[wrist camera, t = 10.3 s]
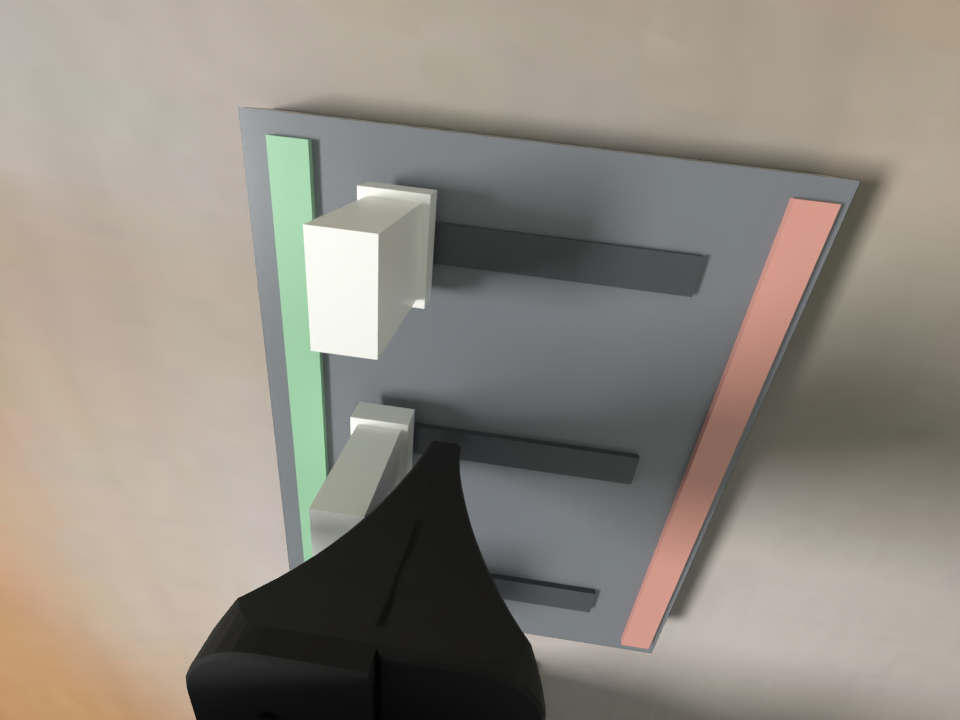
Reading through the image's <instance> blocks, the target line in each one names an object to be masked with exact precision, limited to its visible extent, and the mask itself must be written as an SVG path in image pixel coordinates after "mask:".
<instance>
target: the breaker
mask: <svg viewBox="0 0 960 720" xmlns="http://www.w3.org/2000/svg"><path fill="white" fill-rule="evenodd" d="M436 202H437V190H434V189H426V188H417V187H409V186H401V185H393V184H385V183H377V182H369V181H368V182H365V183H362V184H360V185H357V201H354V202H352V203H350V204H348V205H345V206H343V207H341V208H338V209H336V210H334V211H332V212H329V213H327V214H325V215H323V216H320V217H318V218H316V219H314V220H311V221H309V222H307V223H304V224H303V236H304V252H305V268H306V284H307V299H308V315H309V331H310V347H311V351H316V352H323V353H331V354H338V355H345V356H352V357H359V358H367V359H374V360H378V358H379V357H380V355H381V354H382V352H383V351H384V349H385V348H386V346H387V345H388V343H389V341H390V340H391V338H392V337H393V335H394V334H395V332H396V331H397V329H398V328H399V326H400V324H401V323H402V321H403V320H404V318H405V317H406V315H407V314H408V312H409V311H410V309H411V307H414V308H422V309H425V307H426V305H427V303H428V302H429V300H430V298H431V284H432V268H433V251H434V235H435V219H436Z"/></svg>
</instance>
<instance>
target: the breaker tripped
mask: <svg viewBox="0 0 960 720" xmlns="http://www.w3.org/2000/svg"><path fill="white" fill-rule="evenodd" d="M414 415H415V409H409V408H401V407H394V406H387V405H380V404H373V403H366V402H359V404H358V405H357V407H356V408H355V410H354V412H353V413H352V415H351V417H350V427H351V436H350V438H349V440H348V442H347V443H346V445H345V447H344V449H343V450H342V452H341V454H340V456H339V457H338V459H337V461H336V462H335V464H334V466H333V468H332V469H331V471H330V473H329V475H328V476H327V478H326V480H325V482H324V483H323V485H322V487H321V489H320V490H319V492H318V494H317V495H316V497H315V499H314V501H313V502H312V504H311V506H310V508H309V517H310V530H311V542H312V555H313V556H315V555H316V554H318V553H319V552H321V551H322V550H324V549H325V548H326V547H328V546H329V545H331V544H332V543H333V542H335V541H336V540H337V539H339V538H340V537H341V536H343V535H344V534H345V533H347V532H348V531H349V530H350V529H352V528H353V527H354V526H355V525H356V524H358V523H359V522H360V521H361V520H362V519H364V518H365V517H366V516H367V515H368V514H369V513H370V512H371V511H372V510H373V509H375V508H376V507H377V506H378V505H379V504H380V503H381V502H382V501H383V500H384V499H385V498H386V497H387V496H388V495H389V494H390V493H391V492H392V491H393V490H394V488H395V487H396V486H397V485H398V484H399V483H400V482H401V481H402V479H403V478H404V477H405V476H406V475H407V474H408V473H409V471H410V470H411V469H412V454H413V434H414Z"/></svg>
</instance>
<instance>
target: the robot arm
mask: <svg viewBox="0 0 960 720" xmlns="http://www.w3.org/2000/svg"><path fill="white" fill-rule="evenodd" d="M460 451H461V448H460V447H459V445H458V444H454V443H447V442H440V441H433V442H431V443H430V444H429V446H428V447H427V449H426V450H425V452H424V453H423V455H422V456H421V457H420V459H419V460H418V461H417V463H416V464H415V465H414V466H413V468H412V469H411V470H410V471H409V473H408V474H407V475H406V476H405V477H404V478H403V479H402V481H401V482H400V483H399V484H398V485H397V486H396V487H395V488H394V490H393V491H392V492H391V493H390V494H389V495H388V496H387V497H386V498H385V499H384V500H383V501H382V502H381V503H380V504H379V505H378V506H377V507H376V508H375V509H373V510H372V511H371V512H370V513H369V514H368V515H367V516H366V517H365V518H364V519H362V520H361V521H360V522H359V523H358V524H356V525H355V526H354V527H353V528H352V529H350V530H349V531H348V532H347V533H345V534H344V535H343V536H341V537H340V538H339V539H337V540H336V541H335V542H333V543H332V544H331V545H329V546H328V547H326V548H325V549H324V550H322V551H321V552H319V553H318V554H316V555H315V556H313V557H311V558H310V559H308V560H307V561H305V562H304V563H302V564H300V565H299V566H297V567H296V568H294V569H292V570H291V571H289V572H288V573H286V574H284V575H282V576H281V577H279V578H277V579H275V580H273V581H271V582H269V583H267V584H265V585H263V586H261V587H259V588H257V589H256V590H254V591H252V592H250V593H248V594H246V595H244V596H241V597H239V598H238V599H237V600H236V601H235V602H234V603H233V605H232V606H231V607H230V609H229V610H228V611H227V612H226V614H225V615H224V616H223V617H222V619H221V620H220V621H219V623H218V624H217V625H216V626H215V628H214V629H213V631H212V632H211V634H210V635H209V637H208V639H207V640H206V642H205V643H204V645H203V647H202V648H201V650H200V651H199V653H198V654H197V656H196V658H195V659H194V661H193V662H192V664H191V666H190V668H189V670H188V672H187V675H186V684H187V690H188V693H189V697H190V700H191V703H192V706H193V710H194V713H195V716H196V720H545V716H546V713H545V702H544V695H543V689H542V684H541V679H540V675H539V671H538V667H537V664H536V660H535V657H534V653H533V650H532V646H531V644H530V642H529V641H528V639H527V638H526V636H525V635H524V633H523V632H522V630H521V629H520V627H519V625H518V624H517V622H516V621H515V619H514V617H513V616H512V614H511V612H510V611H509V609H508V607H507V605H506V604H505V602H504V600H503V598H502V597H501V595H500V593H499V591H498V588H497V586H496V584H495V582H494V580H493V578H492V576H491V574H490V572H489V570H488V568H487V566H486V563H485V561H484V559H483V556H482V554H481V551H480V549H479V546H478V543H477V541H476V538H475V535H474V532H473V529H472V526H471V523H470V519H469V515H468V512H467V508H466V504H465V499H464V494H463V489H462V484H461V477H460V465H459V460H460Z"/></svg>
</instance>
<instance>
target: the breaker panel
mask: <svg viewBox="0 0 960 720" xmlns="http://www.w3.org/2000/svg"><path fill="white" fill-rule="evenodd" d="M238 111H239V120H240V129H241V138H242V147H243V156H244V165H245V174H246V183H247V192H248V201H249V210H250V219H251V228H252V237H253V246H254V255H255V263H256V272H257V281H258V290H259V299H260V308H261V317H262V326H263V335H264V344H265V353H266V362H267V371H268V380H269V389H270V398H271V407H272V416H273V425H274V434H275V443H276V452H277V461H278V469H279V478H280V487H281V496H282V505H283V514H284V523H285V532H286V541H287V550H288V559H289V568H290V571H291V570H292V569H294V568H296V567H297V566H299V565H300V564H302V563H304V562H305V561H307V560H308V559H310V558H311V557H313V555H312V542H311V530H310V517H309V508H310V506H311V504H312V502H313V501H314V499H315V497H316V495H317V494H318V492H319V490H320V489H321V487H322V485H323V483H324V482H325V480H326V478H327V476H328V475H329V473H330V471H331V469H332V468H333V466H334V464H335V462H336V461H337V459H338V457H339V456H340V454H341V452H342V450H343V449H344V447H345V445H346V443H347V442H348V440H349V438H350V436H351V427H350V417H351V415H352V413H353V412H354V410H355V408H356V407H357V405H358V404H359V402H366V403H373V404H380V405H387V406H394V407H401V408H409V409H415V415H414V434H413V454H412V468H413V466H414V465H415V464H416V463H417V461H418V460H419V459H420V457H421V456H422V455H423V453H424V452H425V450H426V449H427V447H428V446H429V444H430V443H431V442H433V441H440V442H447V443H454V444H458V445H459V447H460V448H461V451H460V460H459V465H460V477H461V484H462V489H463V494H464V499H465V504H466V508H467V512H468V515H469V519H470V523H471V526H472V529H473V532H474V535H475V538H476V541H477V543H478V546H479V549H480V551H481V554H482V556H483V559H484V561H485V563H486V566H487V568H488V570H489V572H490V574H491V576H492V578H493V580H494V582H495V584H496V586H497V588H498V591H499V593H500V595H501V597H502V598H503V600H504V602H505V604H506V605H507V607H508V609H509V611H510V612H511V614H512V616H513V617H514V619H515V621H516V622H517V624H518V625H519V627H520V629H521V630H522V632H523V633H527V634H533V635H539V636H546V637H552V638H558V639H565V640H571V641H577V642H584V643H590V644H596V645H603V646H609V647H615V648H622V649H628V650H634V651H641V652H647V653H652V651H653V649H654V647H655V645H656V642H657V640H658V638H659V636H660V633H661V631H662V629H663V626H664V624H665V622H666V620H667V617H668V615H669V613H670V611H671V608H672V606H673V604H674V602H675V599H676V597H677V595H678V593H679V590H680V588H681V586H682V583H683V581H684V579H685V577H686V574H687V572H688V570H689V568H690V565H691V563H692V561H693V559H694V556H695V554H696V552H697V550H698V547H699V545H700V543H701V540H702V538H703V536H704V534H705V531H706V529H707V527H708V525H709V522H710V520H711V518H712V516H713V513H714V511H715V509H716V507H717V504H718V502H719V500H720V497H721V495H722V493H723V491H724V488H725V486H726V484H727V482H728V479H729V477H730V475H731V473H732V470H733V468H734V466H735V463H736V461H737V459H738V457H739V454H740V452H741V450H742V448H743V445H744V443H745V441H746V439H747V436H748V434H749V432H750V430H751V427H752V425H753V423H754V420H755V418H756V416H757V414H758V411H759V409H760V407H761V405H762V402H763V400H764V398H765V396H766V393H767V391H768V389H769V387H770V384H771V382H772V380H773V377H774V375H775V373H776V371H777V368H778V366H779V364H780V362H781V359H782V357H783V355H784V353H785V350H786V348H787V346H788V343H789V341H790V339H791V337H792V334H793V332H794V330H795V328H796V325H797V323H798V321H799V319H800V316H801V314H802V312H803V310H804V307H805V305H806V303H807V300H808V298H809V296H810V294H811V291H812V289H813V287H814V285H815V282H816V280H817V278H818V276H819V273H820V271H821V269H822V267H823V264H824V262H825V260H826V257H827V255H828V253H829V251H830V248H831V246H832V244H833V242H834V239H835V237H836V235H837V233H838V230H839V228H840V226H841V223H842V221H843V219H844V217H845V214H846V212H847V210H848V208H849V205H850V203H851V201H852V199H853V196H854V194H855V192H856V190H857V187H858V185H859V183H860V181H856V180H851V179H845V178H839V177H833V176H828V175H822V174H813V173H805V172H796V171H788V170H780V169H771V168H763V167H754V166H746V165H738V164H729V163H721V162H713V161H704V160H696V159H687V158H679V157H671V156H662V155H654V154H645V153H637V152H629V151H620V150H612V149H604V148H595V147H587V146H578V145H570V144H562V143H553V142H545V141H536V140H528V139H520V138H511V137H503V136H495V135H486V134H478V133H469V132H461V131H453V130H444V129H436V128H427V127H419V126H411V125H402V124H394V123H386V122H377V121H369V120H360V119H352V118H344V117H335V116H327V115H318V114H310V113H302V112H293V111H285V110H277V109H266V108H249V107H238ZM368 181H369V182H377V183H385V184H393V185H401V186H409V187H417V188H426V189H434V190H437V202H436V219H435V235H434V251H433V268H432V284H431V298H430V300H429V302H428V303H427V305H426V307H425V309H422V308H414V307H411V309H410V311H409V312H408V314H407V315H406V317H405V318H404V320H403V321H402V323H401V324H400V326H399V328H398V329H397V331H396V332H395V334H394V335H393V337H392V338H391V340H390V341H389V343H388V345H387V346H386V348H385V349H384V351H383V352H382V354H381V355H380V357H379V358H378V360H374V359H367V358H359V357H352V356H345V355H338V354H331V353H323V352H316V351H311V347H310V331H309V315H308V299H307V284H306V268H305V252H304V236H303V224H304V223H307V222H309V221H311V220H314V219H316V218H318V217H320V216H323V215H325V214H327V213H329V212H332V211H334V210H336V209H338V208H341V207H343V206H345V205H348V204H350V203H352V202H354V201H357V185H360V184H362V183H365V182H368Z"/></svg>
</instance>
